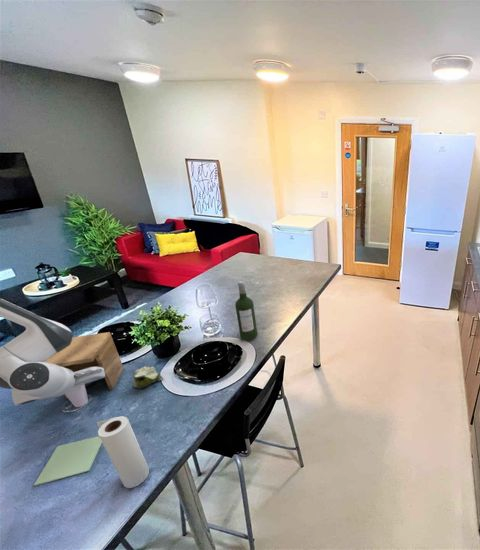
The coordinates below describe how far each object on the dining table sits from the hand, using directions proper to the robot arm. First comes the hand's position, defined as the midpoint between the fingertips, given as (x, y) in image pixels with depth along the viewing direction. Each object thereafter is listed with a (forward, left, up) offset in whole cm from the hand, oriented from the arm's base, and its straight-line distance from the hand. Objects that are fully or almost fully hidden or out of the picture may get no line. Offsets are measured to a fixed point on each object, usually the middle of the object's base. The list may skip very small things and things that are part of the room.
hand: (70, 386), depth 99 cm
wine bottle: (+56, +26, -10) cm, 63 cm away
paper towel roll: (+25, -34, -10) cm, 44 cm away
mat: (+6, -22, -10) cm, 25 cm away
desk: (0, +10, -10) cm, 14 cm away
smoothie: (-1, +2, -10) cm, 10 cm away
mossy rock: (+18, +6, -10) cm, 22 cm away
